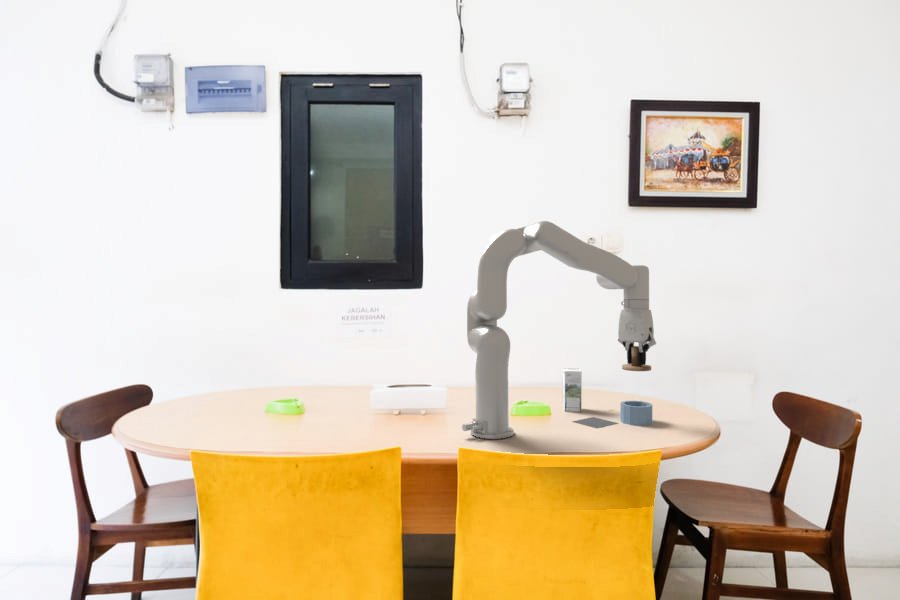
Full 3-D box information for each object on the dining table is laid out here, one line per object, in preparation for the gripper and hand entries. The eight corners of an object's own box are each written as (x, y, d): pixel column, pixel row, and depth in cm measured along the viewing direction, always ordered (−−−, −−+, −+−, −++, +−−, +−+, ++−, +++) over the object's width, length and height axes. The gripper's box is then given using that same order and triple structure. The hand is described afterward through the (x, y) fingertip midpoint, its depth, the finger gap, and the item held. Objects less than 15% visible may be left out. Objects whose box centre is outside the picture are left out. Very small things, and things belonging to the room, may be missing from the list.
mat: (597, 429, 158) (597, 428, 158) (571, 422, 166) (571, 421, 166) (618, 424, 164) (618, 423, 164) (593, 418, 172) (593, 416, 172)
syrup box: (579, 409, 185) (579, 367, 184) (581, 413, 179) (581, 370, 179) (562, 408, 185) (562, 367, 185) (564, 412, 179) (564, 370, 179)
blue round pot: (639, 428, 159) (639, 408, 159) (614, 422, 167) (614, 403, 166) (658, 423, 164) (658, 404, 164) (633, 417, 172) (633, 399, 172)
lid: (639, 372, 159) (639, 349, 159) (616, 368, 166) (616, 346, 166) (657, 369, 164) (657, 346, 164) (633, 366, 171) (633, 344, 171)
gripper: (607, 305, 169) (607, 362, 170) (652, 306, 156) (652, 368, 156) (622, 304, 173) (622, 360, 174) (667, 305, 160) (667, 366, 160)
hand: (636, 363), depth 165 cm, fingers closed on lid, 3 cm apart
